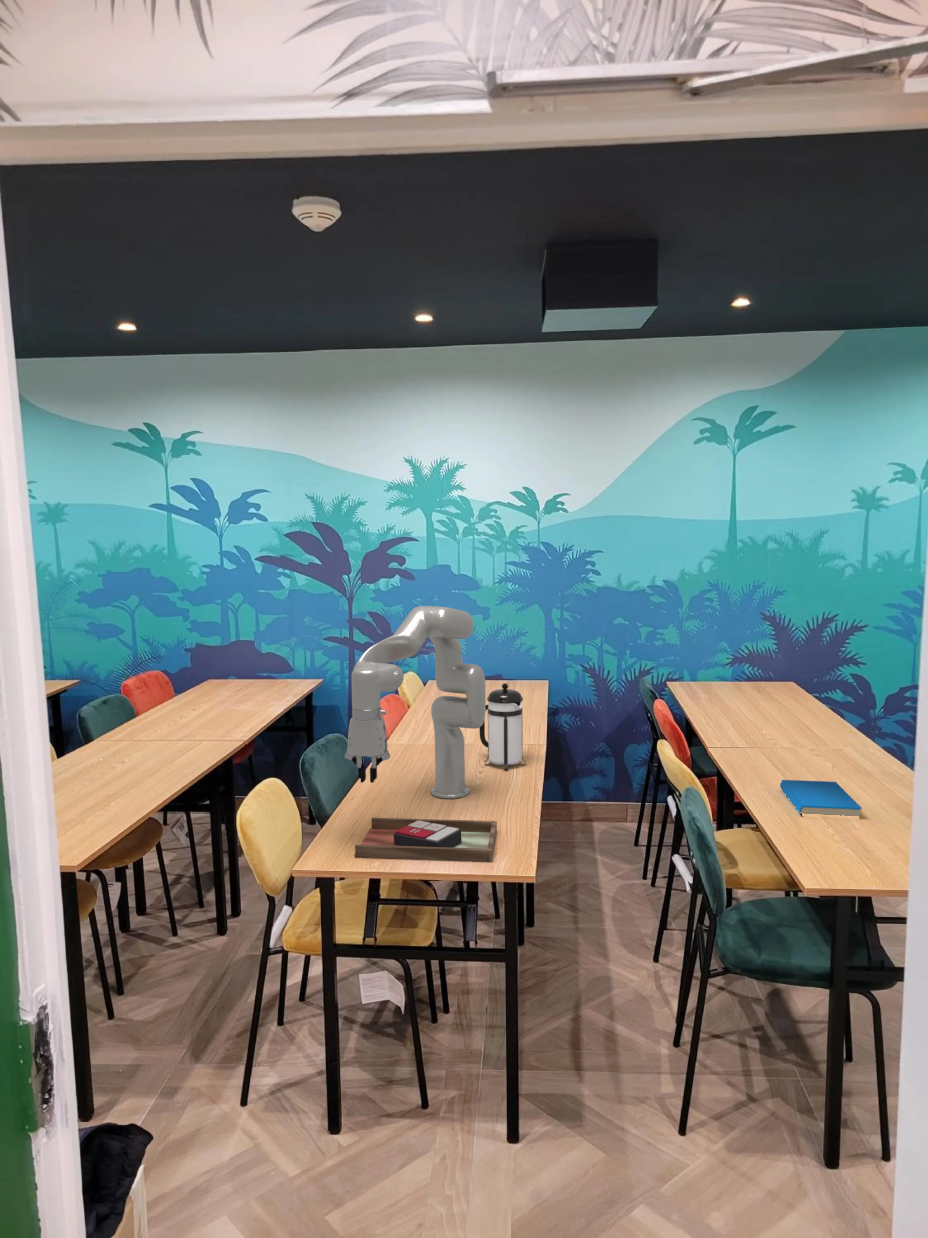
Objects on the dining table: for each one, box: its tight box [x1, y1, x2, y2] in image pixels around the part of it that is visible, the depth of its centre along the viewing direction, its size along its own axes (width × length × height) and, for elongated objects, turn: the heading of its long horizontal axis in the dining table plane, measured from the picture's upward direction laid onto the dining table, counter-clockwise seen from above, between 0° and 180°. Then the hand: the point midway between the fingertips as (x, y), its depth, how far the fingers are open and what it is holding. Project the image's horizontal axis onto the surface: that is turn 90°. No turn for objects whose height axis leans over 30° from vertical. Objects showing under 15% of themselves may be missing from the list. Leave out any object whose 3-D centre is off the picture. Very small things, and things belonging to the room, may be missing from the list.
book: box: [779, 779, 863, 817], centre depth 242 cm, size 17×4×25 cm
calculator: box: [394, 821, 462, 848], centre depth 213 cm, size 11×4×15 cm
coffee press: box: [479, 683, 527, 772], centre depth 285 cm, size 17×16×30 cm
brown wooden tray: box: [353, 817, 498, 863], centre depth 213 cm, size 21×36×3 cm, turn 84°
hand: (368, 780), depth 213 cm, fingers closed
